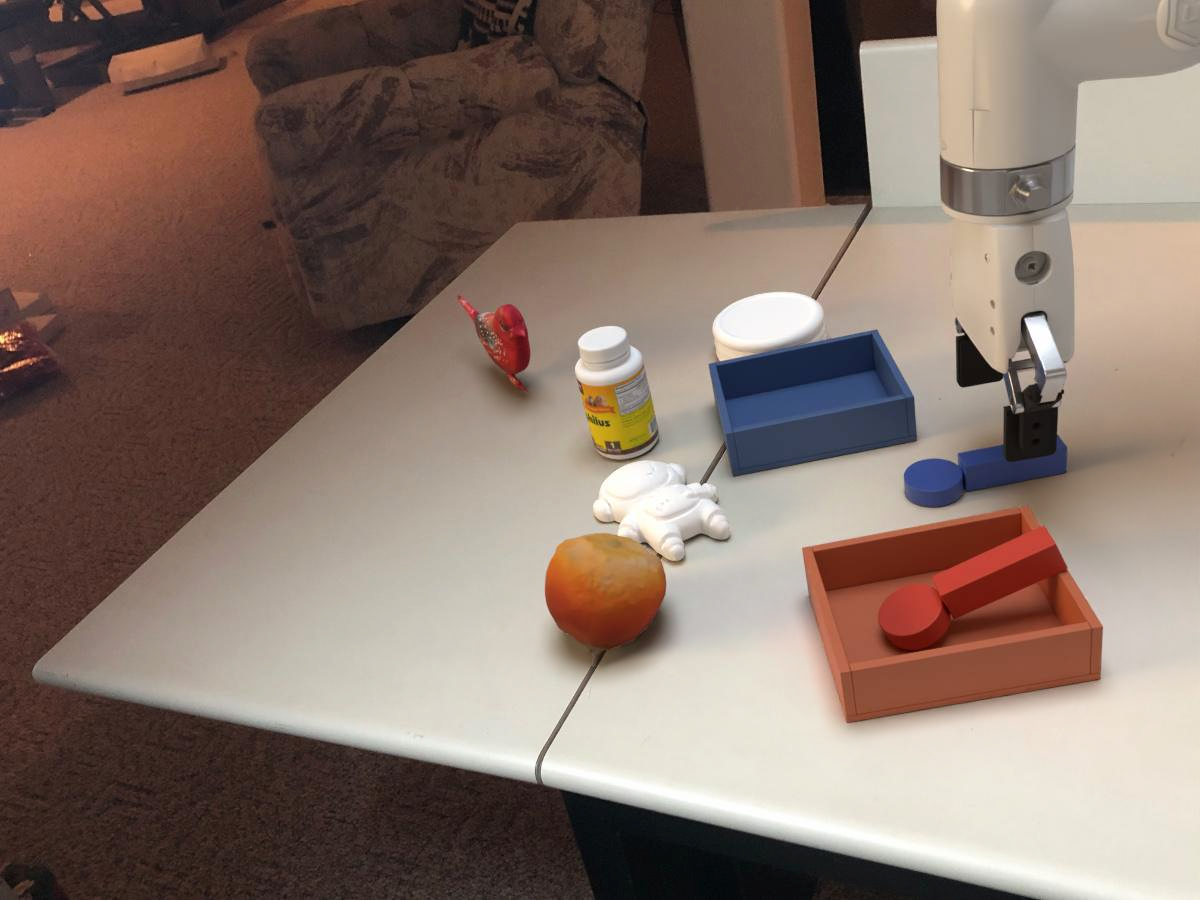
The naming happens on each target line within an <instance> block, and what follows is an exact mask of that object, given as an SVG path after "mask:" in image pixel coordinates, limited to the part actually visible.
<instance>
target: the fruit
mask: <svg viewBox="0 0 1200 900" xmlns="http://www.w3.org/2000/svg"><path fill="white" fill-rule="evenodd" d="M666 593H667V577H666V571H665V569H664V565H663V561H662V560H661V558H660V557H659V556H658V555H656V554H654V553H651V552H650V551H649V550H648V548H647V547H646V546H645V545H643V544H642V543H638V542H636V541H634V540H632V539H630V538H628V537H622V536H618V534H614V533H609V532H594V533H589V534H583V535H580V536H577V537H573V538H568V539H567V538H566V539H564V540H563V541H561V543H559V544H557V546H556V548H555V552H554V554H553V555H552V557H551V558H550V561H549V563H548V565H547V568H546V571H545V579H544V597H545V603H546V607H547V609H548V612H549V614H550V616H551V618H552V619H553V621H554V622H555V624H556V626H557V628H558V629H559V630H561V631H562V632H563V633H564V636H565V635H566V634H567V635H568V636H570V637H571V638H573V639H574V640H575V641H576V642H578V643H579V644H580V645H581V646H582V647H583V648H584V649H585V650H586V651H587V652H588V653H589V654H590V655H591V657H592V661H591V667H593V668H594V669H595V668H596V667H597V663H598V659H599V655H601V653H602V652H605V651H610V650H613V649H616V648H619V647H622V646H624V645H627V644H629V643H631V642H633V641H634V640H635V639H637V638H638V637H639V636H640V635H641V634H642V633H643V632H644V631H645V630H647V629H648V628H650V626H651V625H652V623H653V622H654V619H655V617H656V615H657V613H658V611H659V610H660V608H661V606H662V603H663V601H664V599H665V596H666Z"/></svg>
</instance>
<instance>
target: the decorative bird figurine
mask: <svg viewBox="0 0 1200 900" xmlns="http://www.w3.org/2000/svg"><path fill="white" fill-rule="evenodd" d="M456 297H457V299H458V301H459V302H460V304H461V306H462V307H463V308H464V310H465V312H466V313H467V314H468V316H469V317H470V319H471V321H472V322H473V324H474V328H475V331H476V334H477V337H478V339H479V341H480V342H481V344H482V346H483V348H484V350H485V351H486V353H487V355H488V356H489V358H490V359H491V361H492V362H493V363H494V364H495V365H496V366H497V367H498V368H499V369H500V370H501V371H503V372H505V375H507V376H508V379H509V381H510V382H511V383H512V384H513V385H514V386H515V387H516V388H517V389H521V390H524V391H525V392H527V393H528V392H529V391H528V390H527V388H526V387H525V386H524V385H523V382H522V381H521V380H520V379H518V377H517V374H520V373H521V372H524V371H525V370H526V369H527V368H528V367H529V364H530V361H531V345H530V340H529V331H528V327H527V324H526V321H525V318H524V316H523V315H522V313H521V311H520V310H519V308H518V307H517V306H515V305H514V304H512V303H507V304H506V303H505V304H503V305H501V306H499V307H498V308H497V309H496V311H483V312H479V311H478V310H476V308H475V307H473V306H472V305H471V304H470V303H469V302H468V301H467V300H466V299H465V298H464V297H463V296H461V295H459V294H458V295H457V296H456Z"/></svg>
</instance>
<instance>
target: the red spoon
mask: <svg viewBox="0 0 1200 900" xmlns="http://www.w3.org/2000/svg"><path fill="white" fill-rule="evenodd" d="M1040 526H1041V527H1039V528H1037V529H1034V530H1032V531H1030V532H1028V533H1026V534H1023V535H1021V536H1019V537H1017V538H1015V539H1013V540H1010V541H1008V542H1006V543H1004V544H1002V545H1000V546H997V547H995V548H993V549H991V550H989V551H986V552H984V553H982V554H980V555H978V556H976V557H973V558H971V559H969V560H967V561H965V562H963V563H960V564H958V565H956V566H954V567H952V568H949V569H947V570H945V571H943V572H941V573H939V574H936V575H934V576H932V579H933V581H934V584H935V586H936V588H937V590H938V591H937V590H936V589H935V588H933V587H932V586H929V585H926V584H911V585H907V586H904V587H902V588H900V589H898V590H896V591H894V592H893V593H892V594H890V595H889V596H888V597H887V598H886V599H885V600H884V602H883V603H882V605H881V607H880V609H879V613H878V622H879V625H880V627H881V628H882V630H883V631H884V633H885V635H886V636H887V638H888V639H889V641H890V642H891V643H892V644H893V645H894V646H896V647H898V648H901V649H904V650H917V649H922V648H925V647H927V646H929V645H931V644H933V643H935V642H936V641H937V640H939V639H940V638H941V637H942V636H943V635H944V633H945V632H946V631H947V629H948V627H949V624H950V619H951V615H952V617H953V618H954V619H956V618H959V617H961V616H963V615H965V614H968V613H970V612H972V611H974V610H977V609H979V608H981V607H983V606H986V605H988V604H990V603H992V602H994V601H997V600H999V599H1001V598H1003V597H1006V596H1008V595H1010V594H1012V593H1015V592H1017V591H1019V590H1021V589H1024V588H1026V587H1028V586H1030V585H1033V584H1035V583H1037V582H1039V581H1042V580H1044V579H1046V578H1048V577H1051V576H1053V575H1055V574H1057V573H1060V572H1062V571H1064V570H1066V569H1068V568H1069V567H1068V565H1067V563H1066V561H1065V559H1064V557H1063V555H1062V553H1061V551H1060V549H1059V547H1058V545H1057V543H1056V541H1055V540H1054V538H1053V537H1052V535H1051V533H1050V532H1049V530H1048V529H1047V527H1046V525H1040ZM1068 570H1069V569H1068ZM950 614H951V615H950Z"/></svg>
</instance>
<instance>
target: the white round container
mask: <svg viewBox="0 0 1200 900" xmlns="http://www.w3.org/2000/svg"><path fill="white" fill-rule="evenodd" d="M826 327H827V326H826V321H825V311H824V308H823V306H822V304H820V303H819V302H818V301H817V300H816V299H814V298H812V297H810V296H808V295H807V294H806V295H805V294H802V293H798V292H792V291H772V292H770V291H769V292H764V293H763V292H762V293H758V294H753V295H750V296H747V297H744V298H741V299H739V300H736V301H734V302H733V303H730V304H729V305H728V306H726V307H724V308H723V309H722V310H721V311H720V312H719V313H718V314H717V315H716V317H715V318H714V320H713V323H712V328H711V333H712V335H713V342H714V346H715V354H716V356H717V359H718V361H724V360H729V359H734V358H739V357H744V356H749V355H754V354H758V353H763V352H768V351H773V350H778V349H783V348H788V347H793V346H798V345H802V344H807V343H812V342H817V341H822V340H827V339H828V335H827V331H826Z"/></svg>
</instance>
